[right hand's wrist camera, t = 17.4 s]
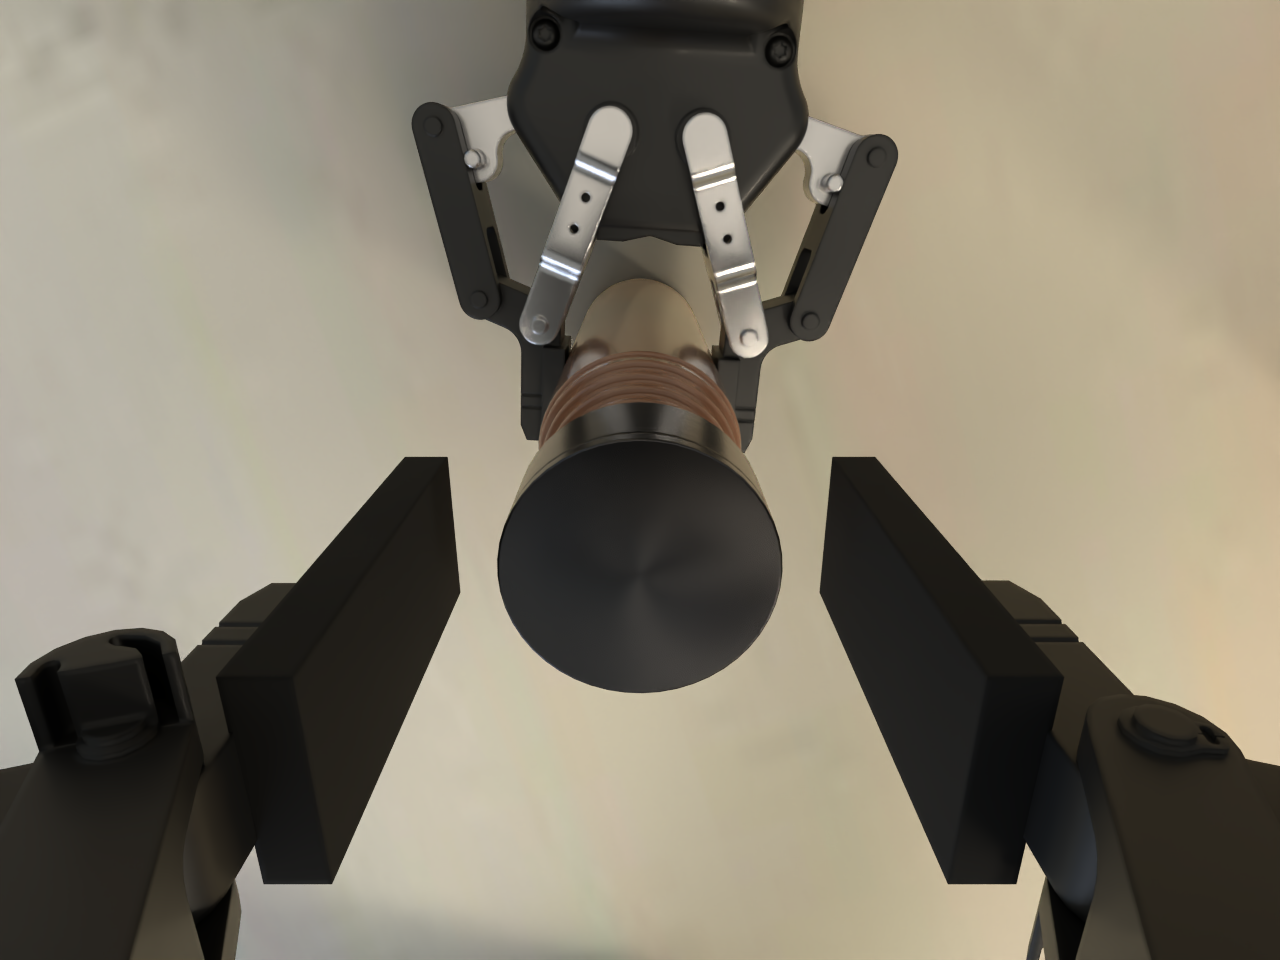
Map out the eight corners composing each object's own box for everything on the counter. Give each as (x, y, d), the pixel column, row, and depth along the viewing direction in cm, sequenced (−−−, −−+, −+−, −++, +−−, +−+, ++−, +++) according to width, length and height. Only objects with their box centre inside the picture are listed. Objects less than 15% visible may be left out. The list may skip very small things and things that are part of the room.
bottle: (576, 388, 32) (490, 662, 14) (587, 271, 30) (506, 404, 12) (689, 401, 32) (754, 689, 14) (706, 286, 30) (807, 440, 12)
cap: (685, 353, 13) (693, 382, 11) (804, 557, 15) (831, 617, 13) (467, 480, 14) (439, 530, 12) (600, 663, 15) (595, 734, 13)
